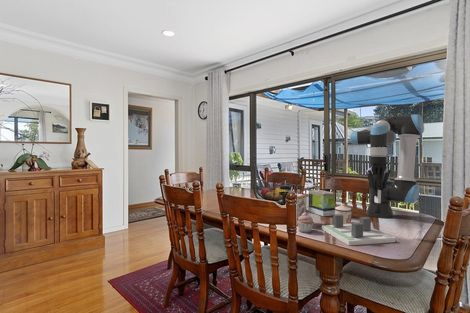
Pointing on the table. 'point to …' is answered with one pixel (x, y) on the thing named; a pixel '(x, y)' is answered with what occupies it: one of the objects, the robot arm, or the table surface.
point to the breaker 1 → (337, 220)
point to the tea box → (322, 202)
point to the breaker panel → (347, 238)
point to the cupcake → (305, 223)
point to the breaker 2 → (357, 229)
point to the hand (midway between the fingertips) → (377, 202)
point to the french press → (284, 187)
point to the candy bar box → (301, 204)
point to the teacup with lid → (344, 213)
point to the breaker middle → (366, 223)
